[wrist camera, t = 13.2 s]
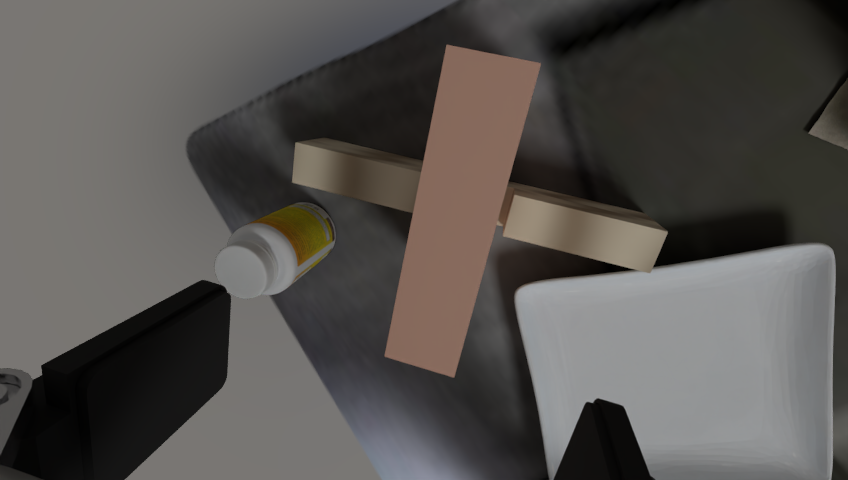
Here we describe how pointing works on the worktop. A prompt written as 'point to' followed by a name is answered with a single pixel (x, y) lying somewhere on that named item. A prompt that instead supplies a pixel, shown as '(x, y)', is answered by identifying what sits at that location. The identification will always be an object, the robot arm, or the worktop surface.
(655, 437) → the salad plate
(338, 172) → the birch rail
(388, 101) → the worktop surface
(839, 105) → the condiment
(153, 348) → the robot arm
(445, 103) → the pink rectangular slab
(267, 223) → the supplement bottle
